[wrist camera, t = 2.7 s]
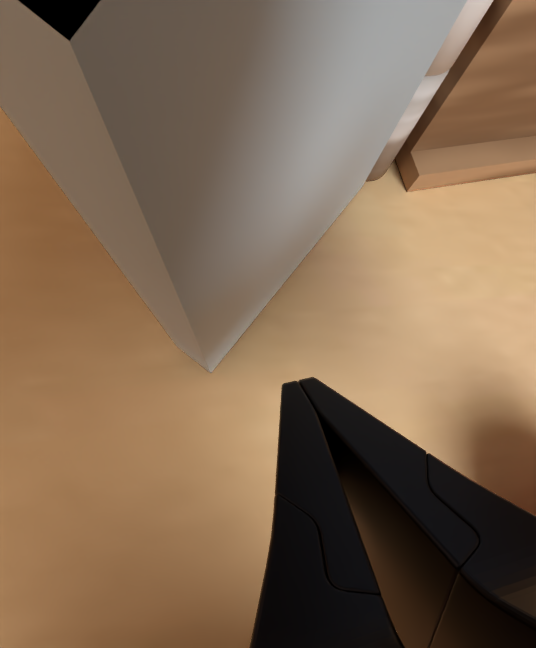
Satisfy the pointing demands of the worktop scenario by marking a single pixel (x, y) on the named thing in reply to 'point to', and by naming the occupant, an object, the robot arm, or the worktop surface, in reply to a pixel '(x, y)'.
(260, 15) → the hinged leaf
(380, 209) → the worktop surface
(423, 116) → the hinge frame
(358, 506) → the robot arm
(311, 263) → the worktop surface
